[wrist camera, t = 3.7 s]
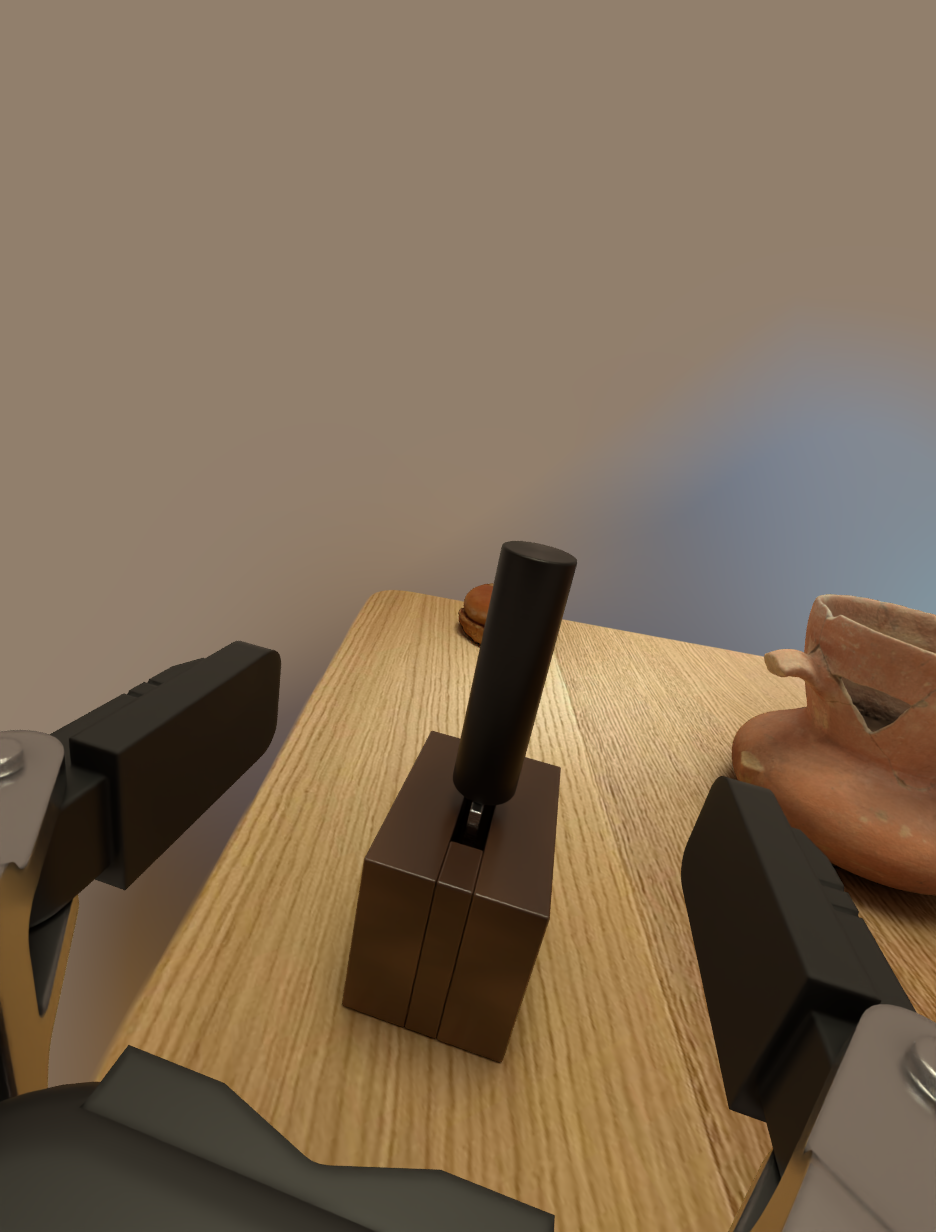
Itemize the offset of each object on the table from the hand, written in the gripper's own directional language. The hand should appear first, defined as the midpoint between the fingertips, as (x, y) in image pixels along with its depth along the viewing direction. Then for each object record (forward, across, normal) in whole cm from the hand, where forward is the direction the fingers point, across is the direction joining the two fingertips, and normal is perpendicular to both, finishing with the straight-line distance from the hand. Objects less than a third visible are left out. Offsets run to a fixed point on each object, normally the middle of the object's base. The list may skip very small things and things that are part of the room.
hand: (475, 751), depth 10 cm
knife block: (+8, 0, +15) cm, 17 cm away
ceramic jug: (+25, -23, +15) cm, 37 cm away
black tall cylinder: (+8, 0, +15) cm, 17 cm away
